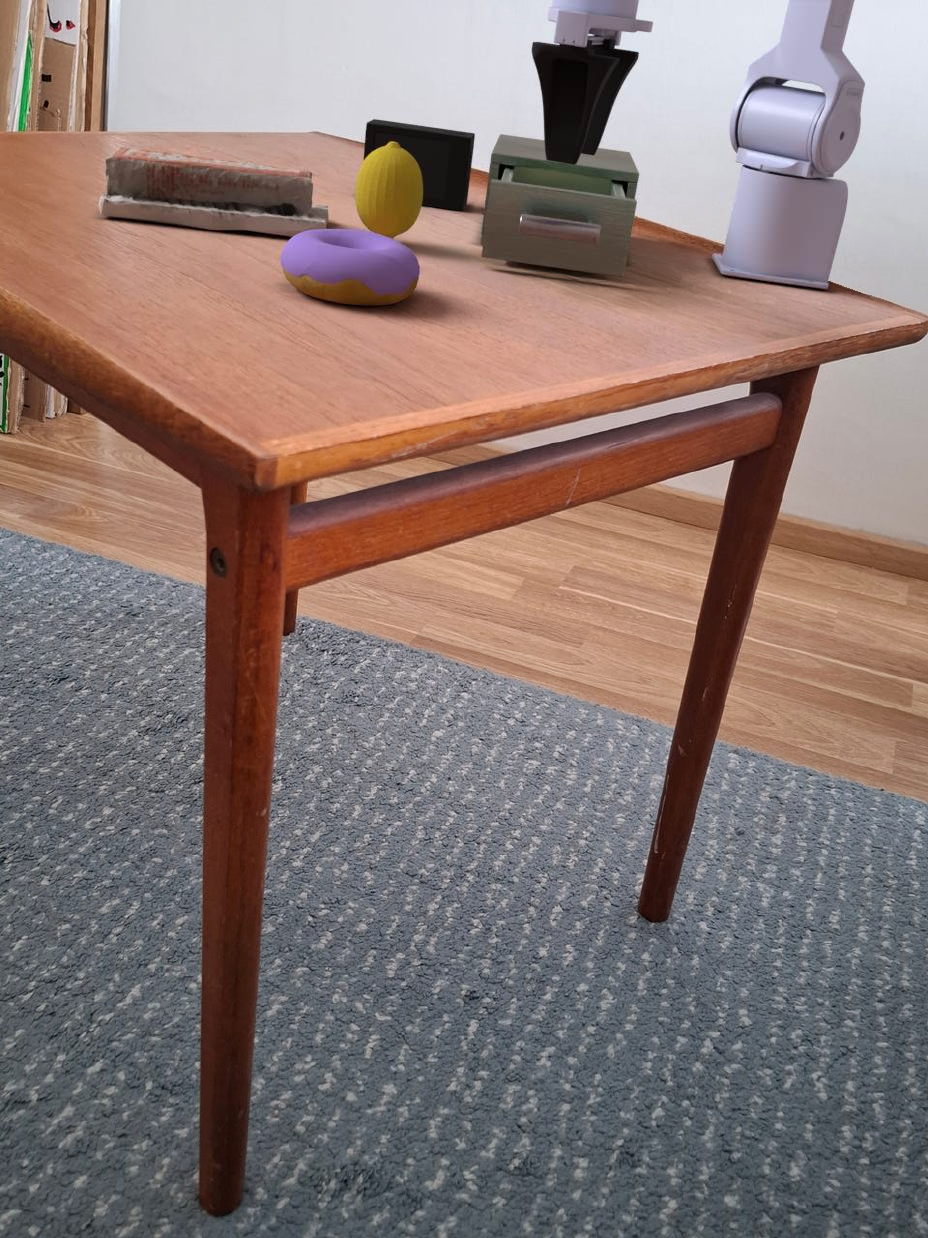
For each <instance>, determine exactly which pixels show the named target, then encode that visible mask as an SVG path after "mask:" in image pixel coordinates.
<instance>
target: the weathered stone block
mask: <svg viewBox="0 0 928 1238" xmlns="http://www.w3.org/2000/svg"><path fill="white" fill-rule="evenodd" d="M104 161H105V169H104V173H105V178H106V186H105V192H104V194H103V195H102V194H101V195H100V197H99V201H98V205H97V207H98V210H99V214H100V216H103V217H109V218H110V217H111V218H116V219H125V220H133V221H140V222H147V223H148V222H149V223H156V224H163V225H164V224H165V225H173V226H180V227H186V228H187V227H188V228H196V229H203V230H211V231H250V232H257V233H263V234H269V235H275V236H276V235H277V236H282V237H289V238H292V237H293V236H294V235H296V234H298V233H301V232H304V231H308V230H319V229H328V228H327V225H328V222H329V205H322V204H317V205H313V192H314V183H313V181H312V180H313V172H312V171H311V170H305V169H290V168H280V167H275V166H269V165H265V164H264V165H263V164H256V163H250V162H248V161H244V162H242V161H241V162H240V161H234V160H225V159H214V158H209V157H202V156H193V155H188V154H181V153H173V152H172V153H171V152H164V151H157V150H150V149H149V150H148V149H142V148H140V149H139V148H133V147H126V146H121V147H119V148H118V149H117V150H115V151H114V152H113V153H112V154H111V155H109V156H108V157H107V158H106V159H104Z"/></svg>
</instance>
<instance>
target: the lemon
mask: <svg viewBox="0 0 928 1238" xmlns="http://www.w3.org/2000/svg"><path fill="white" fill-rule="evenodd" d="M363 160H364V159H363ZM354 197H355V206H356V211H357V215H358V217H359V219H360V221H361V223H362V224H363V225H364V227H366V229H368V231H370V232H374V233H377V234H380V235H383V236H386V237H389V238H392V239H395V237H397V236H400V235H403V234H404V233H406V232H407V231H409V230H410V229H412V227H413V226H414V224H415V223H416V222H417V220H418V218H419V215H420V213H421V210H422V206H423V205H422V199H423V181H422V175H421V171H420V168H419V165H418V163H417V162H416V160H415V159H414V158H413V156H412V155H411V154H410V153H408V152H407V151H406V150H404V149H402V148H401V147H400V145H399V144H398V143H397V142H389V143H388V144H387V145H386V146H383V147H380V148H378V149H376V150H374V151H373V152H372V153H370V154H369V155H368V156H367V157H366V159H365V160H364V161H362V163H361V165H360V168H359V170H358V174H357V178H356V182H355V191H354Z"/></svg>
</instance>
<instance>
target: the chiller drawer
mask: <svg viewBox="0 0 928 1238" xmlns="http://www.w3.org/2000/svg"><path fill="white" fill-rule="evenodd" d="M637 206H638V201H637V199H636V198H635V199H630V198H626V197H625V194H624V191H623V188H622V185H621V181H619V180H612V179H605V178H597V177H590V176H583V175H576V174H569V173H562V172H555V171H548V170H540V169H533V168H526V167H519V166H512V165H506V167H505V170H504V174H503V177H502V180H495V179H492V180H491V184H490V192H489V200H488V208H487V216H486V224H485V232H484V240H483V245H482V249H481V256H480V257H481V258H484V259H485V258H486V259H492V260H497V261H507V262H512V263H521V264H527V265H534V266H542V267H548V268H554V269H555V268H556V269H563V270H568V271H569V270H570V271H578V272H583V273H590V274H598V275H606V276H610V277H611V276H613V277H620V278H623V277H624V276H625V271H626V264H627V259H628V254H629V248H630V243H631V237H632V232H633V226H634V222H635V215H636V210H637Z"/></svg>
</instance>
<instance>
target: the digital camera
mask: <svg viewBox="0 0 928 1238" xmlns="http://www.w3.org/2000/svg"><path fill="white" fill-rule="evenodd" d="M364 135H365V137H364V147H363V161H364V160H365V159H366V157H367V156H368V155H369V154H370V153H372V152H373V151H374V150H376V149H378V148H380V147H383V146H386V145H387V144H388V143H389V142H397V143H398V144H399V145H400V147H401V148H402V149H404V150H406V151H407V152H408V153H410V154H411V155H412V156H413V158H414V159H415V160H416V162H417V163H418V165H419V168H420V171H421V175H422V181H423V199H422V205H421V206H425V207H433V208H440V209H446V210H454V211H460V212H461V211H462V212H463V211H464V210H465V208H466V207H467V205H468V199H469V198H468V197H469V190H470V189H469V188H470V181H471V172H472V165H473V156H474V149H475V148H474V147H475V138H476V133H474V132H468V131H461V130H456V129H455V130H453V129H447V128H439V127H432V126H426V125H420V124H412V123H405V122H397V121H390V120H383V119H376V118H373V119H371V120H369V121H366V124H365V134H364ZM363 161H362V162H363Z"/></svg>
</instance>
